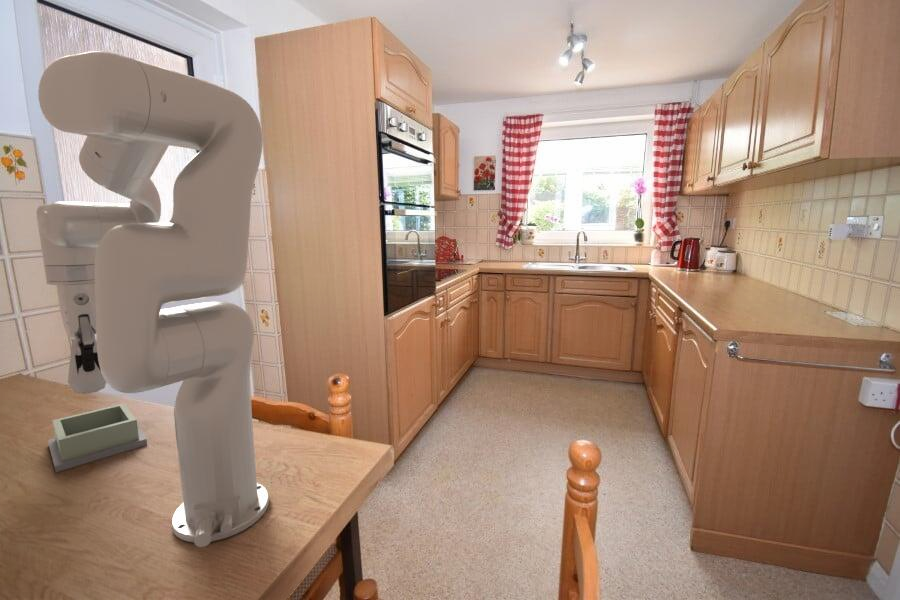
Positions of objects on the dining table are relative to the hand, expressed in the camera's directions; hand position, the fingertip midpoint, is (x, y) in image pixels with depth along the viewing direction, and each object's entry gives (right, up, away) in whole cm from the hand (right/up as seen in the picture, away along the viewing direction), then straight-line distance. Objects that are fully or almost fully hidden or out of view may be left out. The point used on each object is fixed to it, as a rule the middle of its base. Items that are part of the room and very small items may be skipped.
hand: (87, 371), depth 78 cm
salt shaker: (0, -4, +1) cm, 4 cm away
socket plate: (0, -15, +2) cm, 15 cm away
